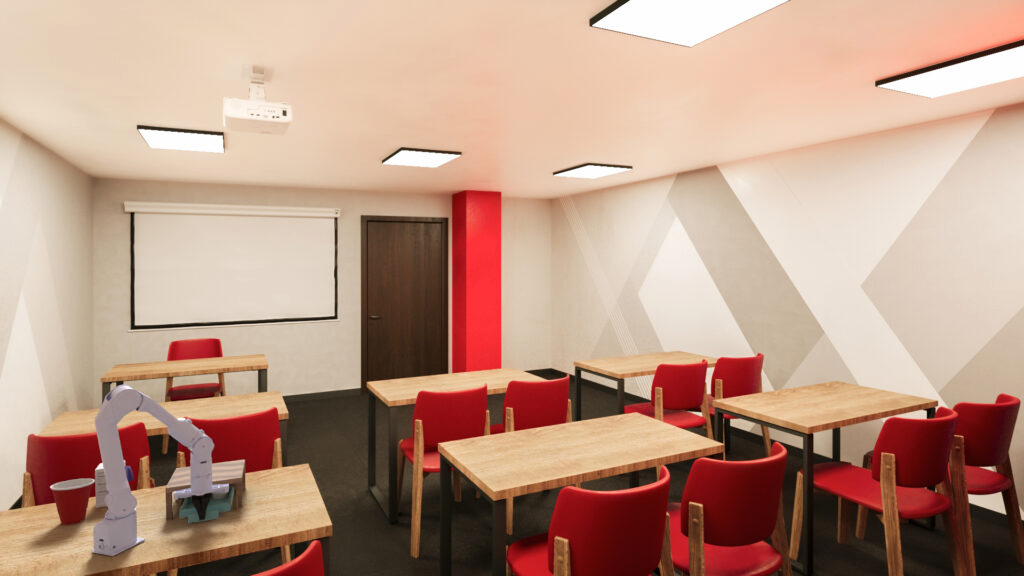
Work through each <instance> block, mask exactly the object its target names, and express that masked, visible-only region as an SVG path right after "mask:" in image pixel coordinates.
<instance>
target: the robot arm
mask: <svg viewBox="0 0 1024 576" xmlns="http://www.w3.org/2000/svg"><path fill="white" fill-rule="evenodd" d="M133 411H137V412H138V413H140V412H142V413H143V412H144V413H148V414H149V415H151V416H152V417H154V418H155V419H156V420H158V421H159V422H160V423H162V424H163V425H165V426H166V427H167V433H168V434H167V435H169V436H171V437H172V438H173V439H175V440H176V441H177V442H178V443H180V444H181V445H182V446H184V447H187V449H188V450H189V451H190V454H189V456H190V460H189V463H190V464H189V465H190V466H189V467H190V473H191V488H189V489H184V490H180V491H175V492H173V501H176V500H180V499H185V498H186V497H191V502H192V504H193V505H194V507H195V508H196V510H197V513H198V516H199V520H205V516H206V510H207V506H208V503H209V501H210V499H211V496H212V494H213V493H220V492H228V491H229V484H220V485H212V464H213V458H212V452H213V450H214V448H215V443H214V442H213V439H212V438H211V437H210V436H208V435H207V434H206V433H205V430H203V429H199V428H198V427H197V426H195V425H194V424H193V421H192V420H191V419H190V418H185V417H178V418H177V417H175V416H174V415H173V414H172V413H170V412H169V411H168V410H167V409H166V408H165V407H163V406H162V405H161V404H159V403H158V402H157V401H156V400H155V399H153V398H152V397H150V396H149V395H148V394H145V393H143V392H141V391H139V390H137V389H135V388H134V387H133V386H131V385H128V384H120V385H117V386H115V387H114V388H113V389H111V390H110V391H109V392H108V393H107V394H106V395H105V396H104V400H103V401H102V404H101V406H100V408H99V410H98V412H97V414H96V416H95V418H94V426H95V431H96V437H97V440H98V447H99V451H100V457H101V461H102V462H101V463H103V468H104V473H105V478H106V488H107V492H106V495H105V498H104V501H105V504H106V505H107V506H106V507H107V508H108V509H107V510H106V512H105V514H104V518H103V519H102V520H101V521H99V522H97V523H96V524H95V525H94V526H93V531H92V533H93V535H92V536H93V549H92V550H91V553H93V554H99V555H104V556H105V555H106V556H109V557H110V556H111V557H113V556H116V555H118V554H120V553H122V552H124V551H126V550H129V549H130V548H132V547H134V546H136V545H138V544H140V543H142V542H144V541H146V538H143V537H139V536H138V526H137V525H138V523H137V522H138V521H137V503H138V500H137V498H136V497H135V495H134V494H133V493H132V490H131V487H130V484H129V482H128V480H127V476H126V470H125V466H126V464H125V465H124V460H125V459H124V456H123V451H122V450H123V449H122V444H121V440H120V434H119V430H118V424H119V422H120V421H122V419H123V418H124V417H125V416H126V415H128V414H130V413H132V412H133ZM202 495H203V496H202ZM179 498H180V499H179Z"/></svg>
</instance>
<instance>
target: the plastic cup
mask: <svg viewBox="0 0 1024 576" xmlns="http://www.w3.org/2000/svg"><path fill="white" fill-rule="evenodd" d="M94 484H95V478H77V479H76V478H75V479H69V480H65V481H59V482H56V483H53V484H52V485H50V486H49V488H50V490H51V491H52V496H53V498H54V502H55V507H56V509H57V514H58V518H59V521H60V522H59V523H61V525H62V526H71V525H75V524H79V523H81V522H83V521H85V519H86V516H87V510H88V506H89V501H90V495H91V490H92V487H93V485H94Z"/></svg>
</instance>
